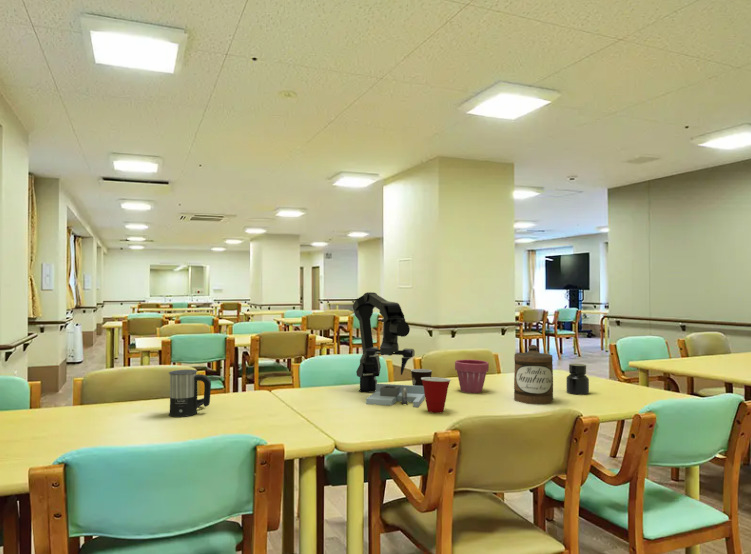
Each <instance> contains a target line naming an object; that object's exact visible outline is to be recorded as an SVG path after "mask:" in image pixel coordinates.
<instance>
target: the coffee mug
mask: <svg viewBox="0 0 751 554" xmlns="http://www.w3.org/2000/svg"><path fill="white" fill-rule="evenodd" d="M410 372H411V374H410V375H411V380H412V381H411V383H412V385H413V386H423V382H422V379H421V378H422V377H432V374H433V371H432V370H431V369H427V368H413V369H411V370H410Z"/></svg>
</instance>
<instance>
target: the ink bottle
mask: <svg viewBox="0 0 751 554" xmlns="http://www.w3.org/2000/svg"><path fill="white" fill-rule="evenodd" d="M568 371H569V372H568V373H569V374H568V375H567V376H566V392H567V394H568V393H569V394H571V395H572V394H573V395H578V394H584V395H588V394H589V393H590V379H589V377H588V376H587V375H586V374H587V365H586V364H583V363H569V364H568Z"/></svg>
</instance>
